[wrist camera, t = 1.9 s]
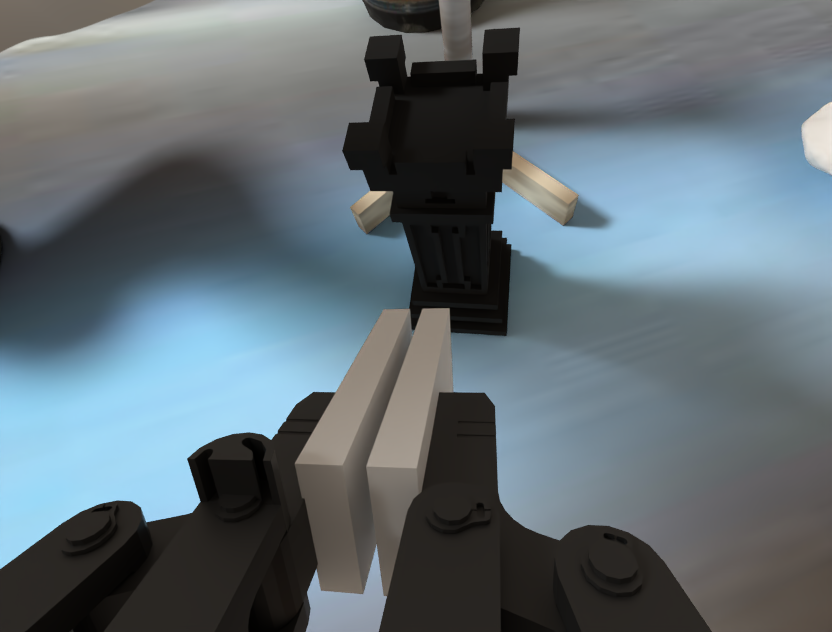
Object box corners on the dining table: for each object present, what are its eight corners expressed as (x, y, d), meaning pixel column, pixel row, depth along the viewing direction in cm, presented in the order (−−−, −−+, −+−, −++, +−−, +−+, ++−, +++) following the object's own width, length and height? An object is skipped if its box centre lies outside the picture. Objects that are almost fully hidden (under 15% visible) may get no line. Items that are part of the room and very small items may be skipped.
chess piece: (420, 246, 41) (363, 31, 22) (510, 249, 39) (529, 21, 21) (408, 329, 38) (331, 158, 19) (506, 335, 36) (522, 156, 18)
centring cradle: (324, 173, 46) (154, -174, 23) (467, 93, 47) (446, -311, 24) (415, 313, 38) (299, 4, 15) (583, 213, 39) (717, -213, 16)
